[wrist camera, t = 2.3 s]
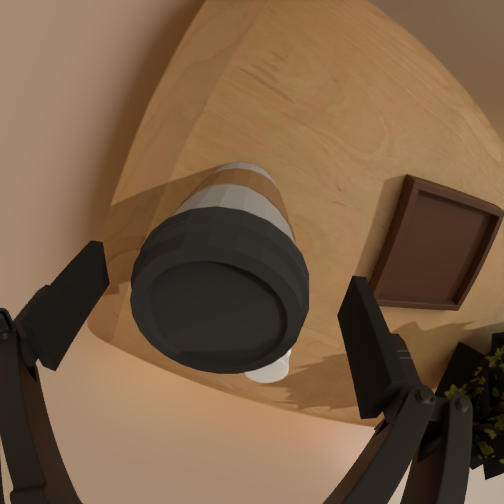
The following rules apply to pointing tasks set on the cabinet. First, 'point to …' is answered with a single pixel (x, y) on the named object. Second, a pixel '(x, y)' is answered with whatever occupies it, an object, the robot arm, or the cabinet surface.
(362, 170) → the cabinet surface
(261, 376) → the pill bottle
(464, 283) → the tray
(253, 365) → the coffee cup
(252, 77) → the cabinet surface
